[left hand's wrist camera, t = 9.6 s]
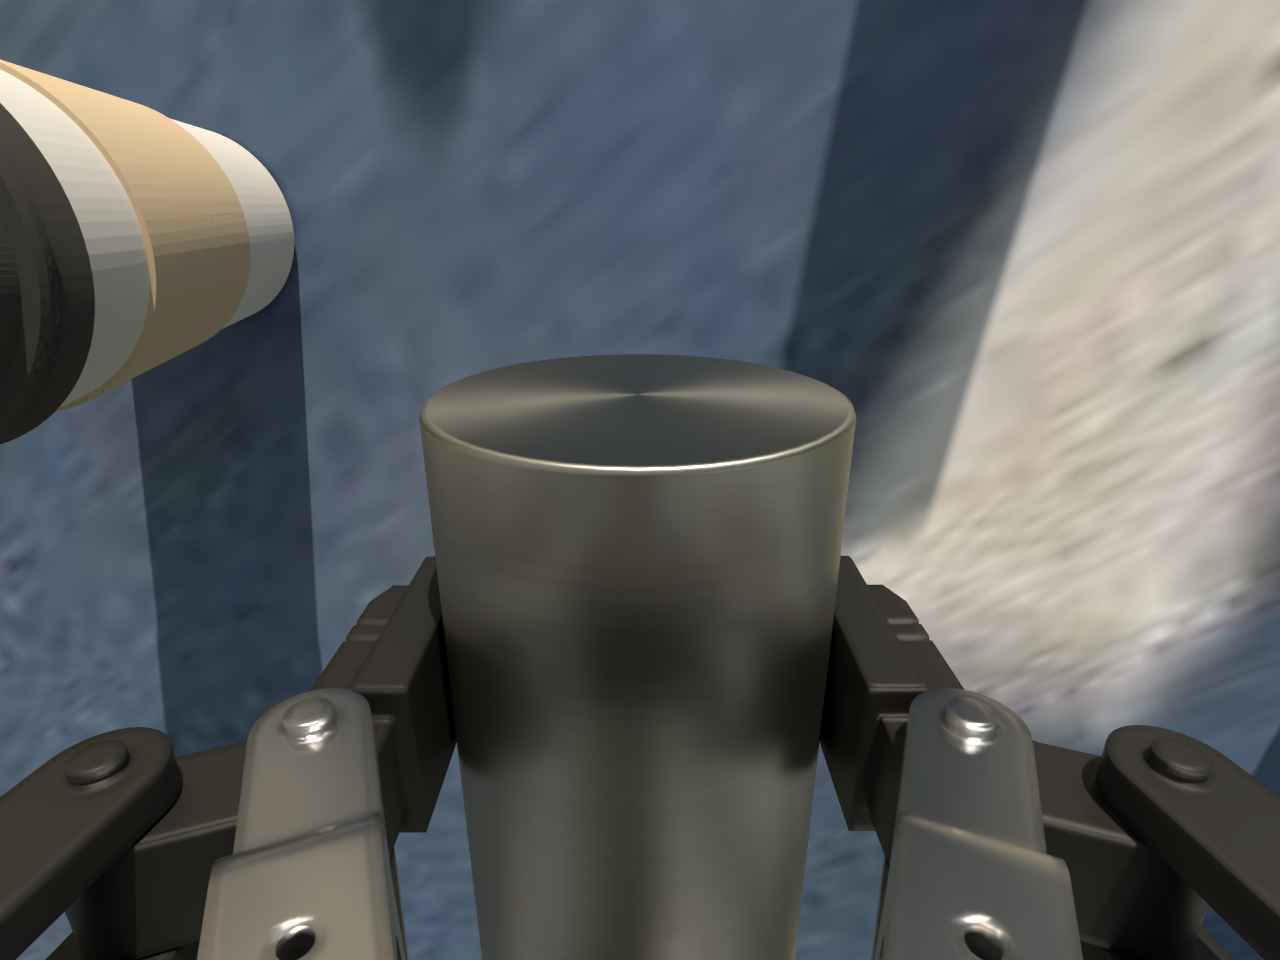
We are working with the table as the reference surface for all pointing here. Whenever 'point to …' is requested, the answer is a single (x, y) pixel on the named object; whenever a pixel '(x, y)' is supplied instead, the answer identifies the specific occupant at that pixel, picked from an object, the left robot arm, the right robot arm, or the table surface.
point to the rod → (638, 646)
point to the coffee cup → (119, 242)
